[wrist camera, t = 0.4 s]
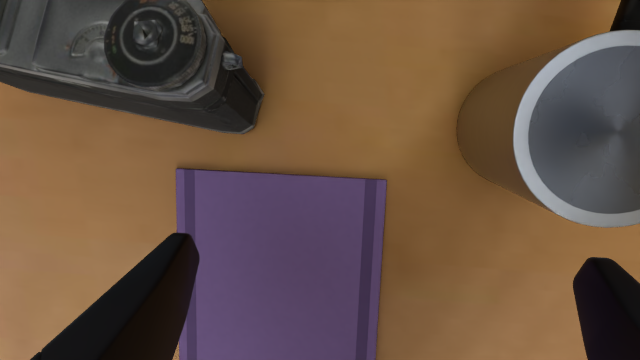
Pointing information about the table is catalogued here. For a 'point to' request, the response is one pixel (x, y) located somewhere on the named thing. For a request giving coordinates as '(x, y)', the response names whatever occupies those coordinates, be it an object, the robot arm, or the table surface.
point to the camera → (129, 59)
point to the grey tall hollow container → (565, 127)
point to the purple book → (282, 265)
